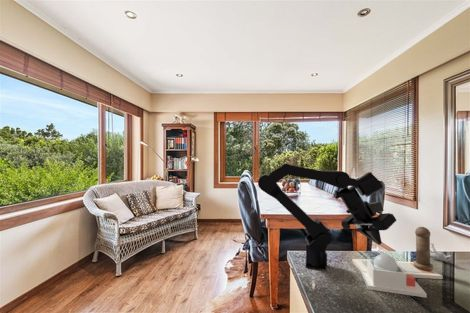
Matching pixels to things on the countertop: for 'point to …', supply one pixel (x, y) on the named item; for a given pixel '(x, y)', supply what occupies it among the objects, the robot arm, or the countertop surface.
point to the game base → (391, 281)
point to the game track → (407, 268)
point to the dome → (385, 263)
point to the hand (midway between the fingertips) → (379, 243)
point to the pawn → (423, 249)
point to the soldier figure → (440, 255)
